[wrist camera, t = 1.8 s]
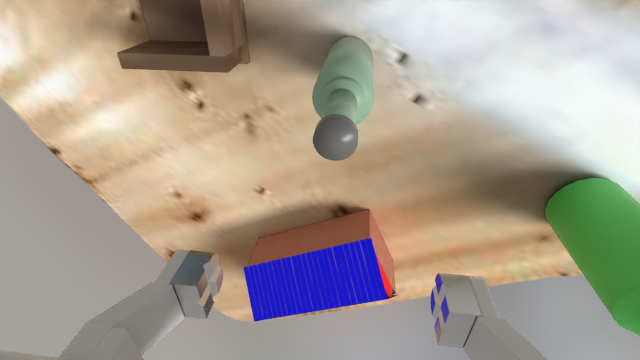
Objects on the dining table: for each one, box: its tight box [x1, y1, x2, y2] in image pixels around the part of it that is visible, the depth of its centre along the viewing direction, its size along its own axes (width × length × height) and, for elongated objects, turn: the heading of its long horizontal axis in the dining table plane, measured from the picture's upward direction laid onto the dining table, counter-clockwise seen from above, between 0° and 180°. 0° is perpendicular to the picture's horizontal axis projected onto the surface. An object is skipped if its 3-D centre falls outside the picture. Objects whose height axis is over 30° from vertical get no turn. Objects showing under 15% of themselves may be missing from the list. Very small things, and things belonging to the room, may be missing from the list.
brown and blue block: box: [244, 209, 396, 321], centre depth 49 cm, size 12×20×12 cm, turn 114°
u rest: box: [117, 0, 250, 73], centre depth 33 cm, size 11×11×7 cm
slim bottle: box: [312, 36, 374, 160], centre depth 29 cm, size 5×5×20 cm
